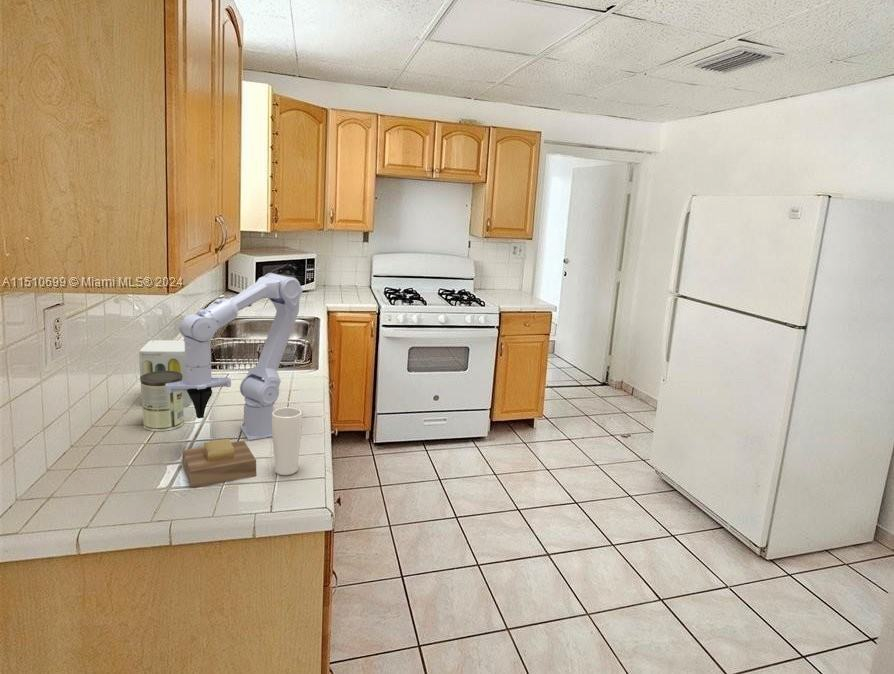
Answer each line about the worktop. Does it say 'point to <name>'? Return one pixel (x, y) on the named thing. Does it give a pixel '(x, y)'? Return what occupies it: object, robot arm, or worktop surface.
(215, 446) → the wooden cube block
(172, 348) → the supplement box
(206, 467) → the brown wooden block
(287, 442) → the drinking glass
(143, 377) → the coffee can
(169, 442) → the worktop surface
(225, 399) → the worktop surface
